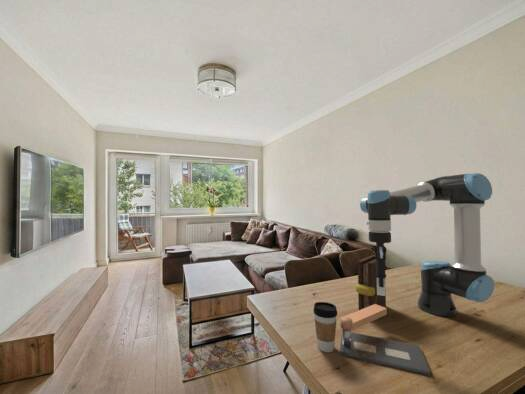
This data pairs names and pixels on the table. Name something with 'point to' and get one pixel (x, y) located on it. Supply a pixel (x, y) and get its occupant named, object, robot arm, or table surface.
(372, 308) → the cable arm
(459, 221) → the robot arm
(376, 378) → the table surface
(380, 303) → the book
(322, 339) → the coffee cup
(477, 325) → the table surface
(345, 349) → the plate
